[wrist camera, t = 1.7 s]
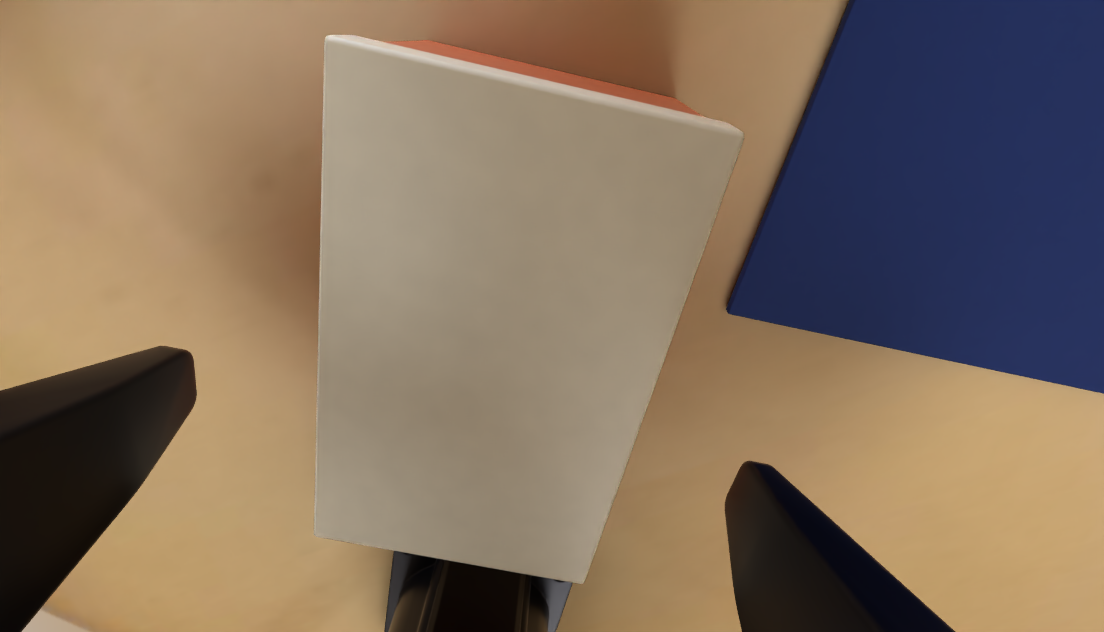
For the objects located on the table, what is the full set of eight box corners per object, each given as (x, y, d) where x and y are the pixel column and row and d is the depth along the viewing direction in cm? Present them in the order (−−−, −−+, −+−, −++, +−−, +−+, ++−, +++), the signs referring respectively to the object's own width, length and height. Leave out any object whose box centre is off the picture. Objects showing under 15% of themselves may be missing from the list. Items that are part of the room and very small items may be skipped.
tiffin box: (582, 430, 18) (583, 586, 13) (388, 392, 17) (312, 538, 12) (682, 95, 13) (748, 132, 8) (421, 33, 13) (322, 33, 8)
